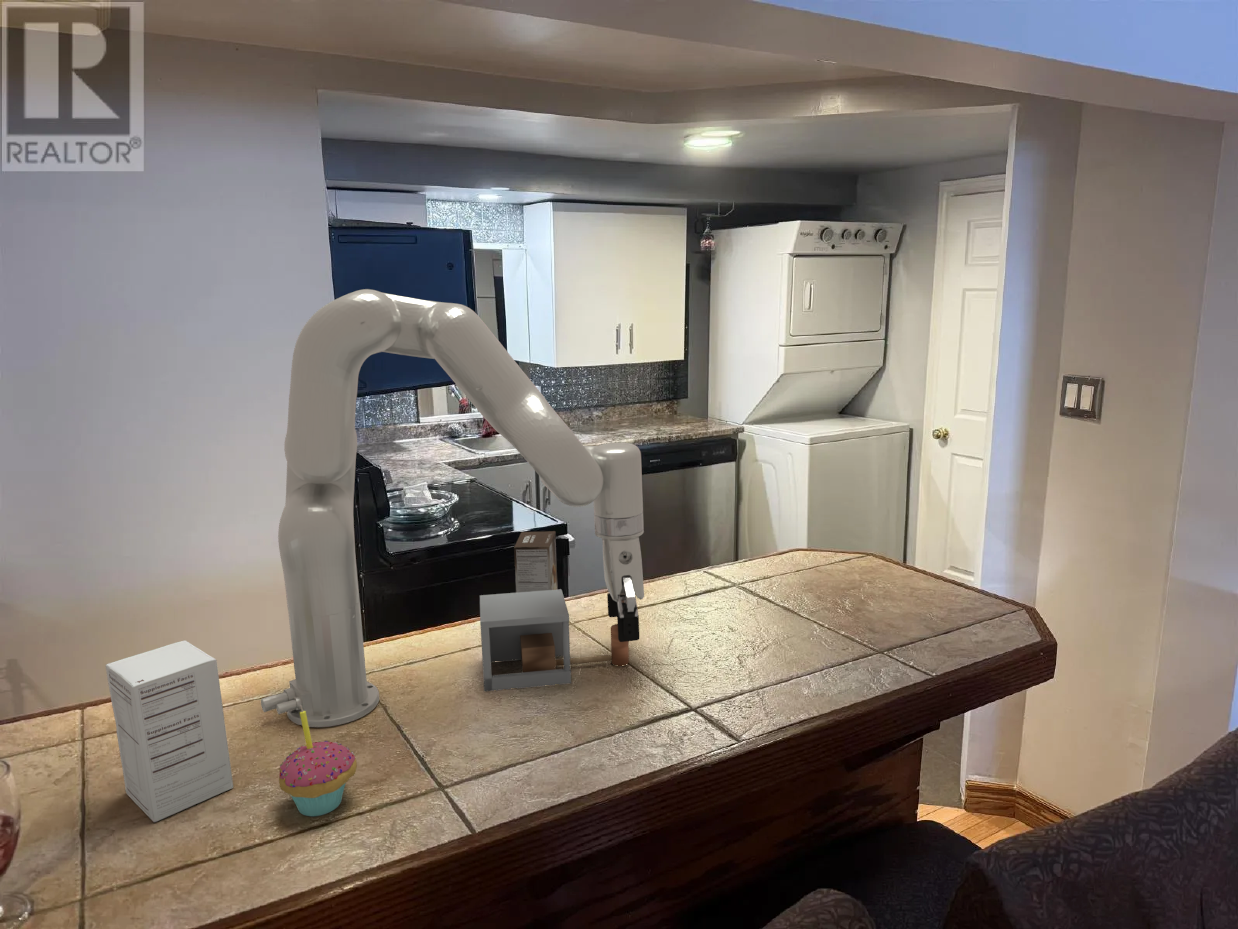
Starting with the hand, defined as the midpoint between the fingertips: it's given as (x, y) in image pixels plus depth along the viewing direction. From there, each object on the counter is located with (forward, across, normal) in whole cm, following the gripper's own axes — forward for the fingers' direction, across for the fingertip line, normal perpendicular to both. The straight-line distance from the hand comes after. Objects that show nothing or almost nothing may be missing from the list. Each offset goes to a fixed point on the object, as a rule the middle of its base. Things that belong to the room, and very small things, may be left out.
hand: (623, 627), depth 131 cm
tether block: (+6, 0, +8) cm, 10 cm away
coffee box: (+6, +18, +12) cm, 23 cm away
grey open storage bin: (+6, 0, +16) cm, 17 cm away
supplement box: (+5, -24, +59) cm, 63 cm away
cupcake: (+5, -30, +41) cm, 51 cm away
